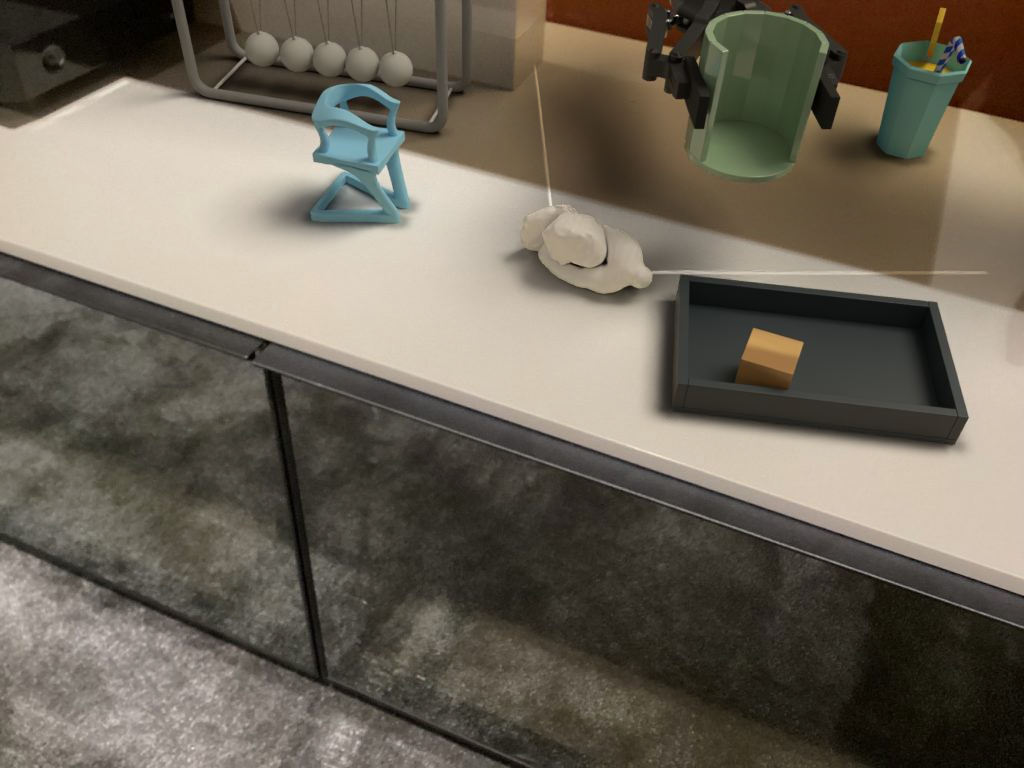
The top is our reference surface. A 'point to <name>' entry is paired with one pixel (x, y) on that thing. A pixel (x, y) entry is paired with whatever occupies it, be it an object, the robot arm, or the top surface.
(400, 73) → the newton's cradle
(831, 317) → the tray
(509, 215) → the top surface
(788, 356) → the block
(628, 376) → the top surface
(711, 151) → the pouring cup
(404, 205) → the chair
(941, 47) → the cup
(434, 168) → the top surface
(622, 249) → the baby figurine
